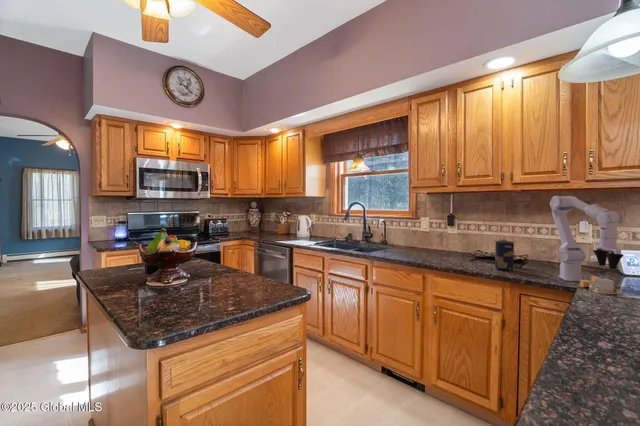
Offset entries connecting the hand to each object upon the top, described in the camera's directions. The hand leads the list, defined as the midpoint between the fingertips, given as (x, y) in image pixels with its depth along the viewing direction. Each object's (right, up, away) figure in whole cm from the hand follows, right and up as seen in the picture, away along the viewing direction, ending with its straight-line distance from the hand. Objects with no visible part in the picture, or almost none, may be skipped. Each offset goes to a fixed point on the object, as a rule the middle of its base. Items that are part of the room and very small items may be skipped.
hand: (607, 267), depth 142 cm
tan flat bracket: (-5, -11, -4) cm, 13 cm away
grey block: (-6, -10, -4) cm, 12 cm away
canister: (-22, -9, +42) cm, 49 cm away
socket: (-5, -10, +4) cm, 12 cm away
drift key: (-6, -10, +4) cm, 12 cm away
